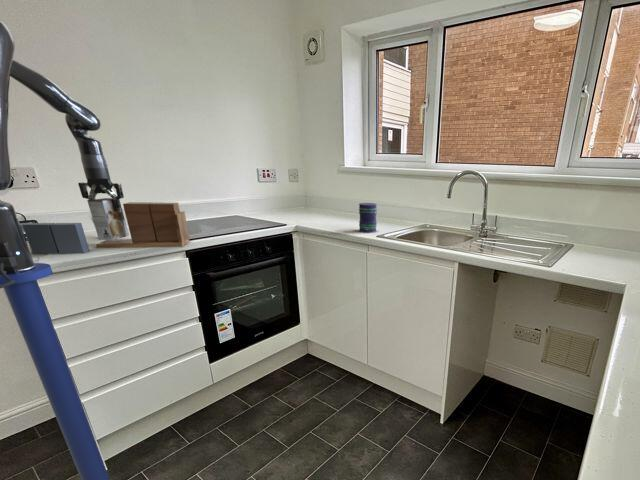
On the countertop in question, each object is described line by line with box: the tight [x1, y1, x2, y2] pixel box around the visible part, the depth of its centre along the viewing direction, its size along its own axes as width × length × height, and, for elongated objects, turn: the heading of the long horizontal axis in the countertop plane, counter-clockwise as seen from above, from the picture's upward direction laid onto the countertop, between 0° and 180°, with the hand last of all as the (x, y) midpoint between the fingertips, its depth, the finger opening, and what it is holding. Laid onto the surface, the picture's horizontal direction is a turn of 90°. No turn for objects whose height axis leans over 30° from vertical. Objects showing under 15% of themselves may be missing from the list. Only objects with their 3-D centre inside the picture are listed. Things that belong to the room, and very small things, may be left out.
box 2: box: [149, 201, 181, 242], centre depth 151 cm, size 6×9×16 cm, turn 104°
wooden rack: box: [95, 210, 190, 249], centre depth 150 cm, size 10×32×14 cm, turn 103°
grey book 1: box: [22, 222, 60, 255], centre depth 133 cm, size 4×8×11 cm, turn 103°
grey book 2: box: [50, 222, 90, 254], centre depth 135 cm, size 4×8×11 cm, turn 103°
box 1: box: [122, 201, 157, 242], centre depth 149 cm, size 6×9×16 cm, turn 104°
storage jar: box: [358, 202, 378, 233], centre depth 197 cm, size 10×10×15 cm
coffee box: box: [86, 197, 130, 241], centre depth 146 cm, size 9×6×16 cm
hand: (106, 209), depth 144 cm, fingers closed on coffee box, 7 cm apart
